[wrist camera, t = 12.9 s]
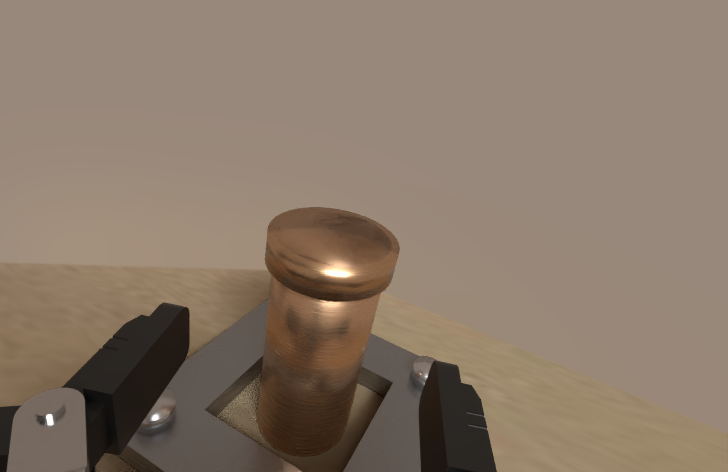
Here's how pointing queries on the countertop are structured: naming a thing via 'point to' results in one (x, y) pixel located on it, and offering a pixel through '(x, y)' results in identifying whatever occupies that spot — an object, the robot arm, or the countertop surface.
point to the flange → (235, 372)
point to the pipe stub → (318, 322)
